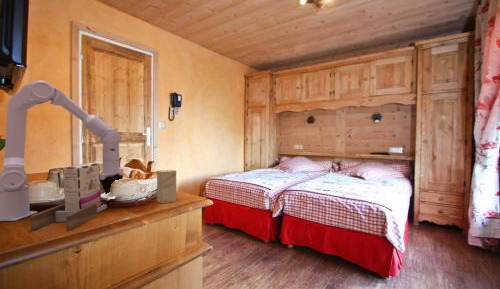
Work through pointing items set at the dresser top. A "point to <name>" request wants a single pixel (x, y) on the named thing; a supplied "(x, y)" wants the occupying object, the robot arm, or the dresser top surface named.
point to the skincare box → (166, 186)
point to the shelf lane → (71, 220)
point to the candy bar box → (81, 186)
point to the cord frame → (62, 214)
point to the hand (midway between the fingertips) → (111, 194)
